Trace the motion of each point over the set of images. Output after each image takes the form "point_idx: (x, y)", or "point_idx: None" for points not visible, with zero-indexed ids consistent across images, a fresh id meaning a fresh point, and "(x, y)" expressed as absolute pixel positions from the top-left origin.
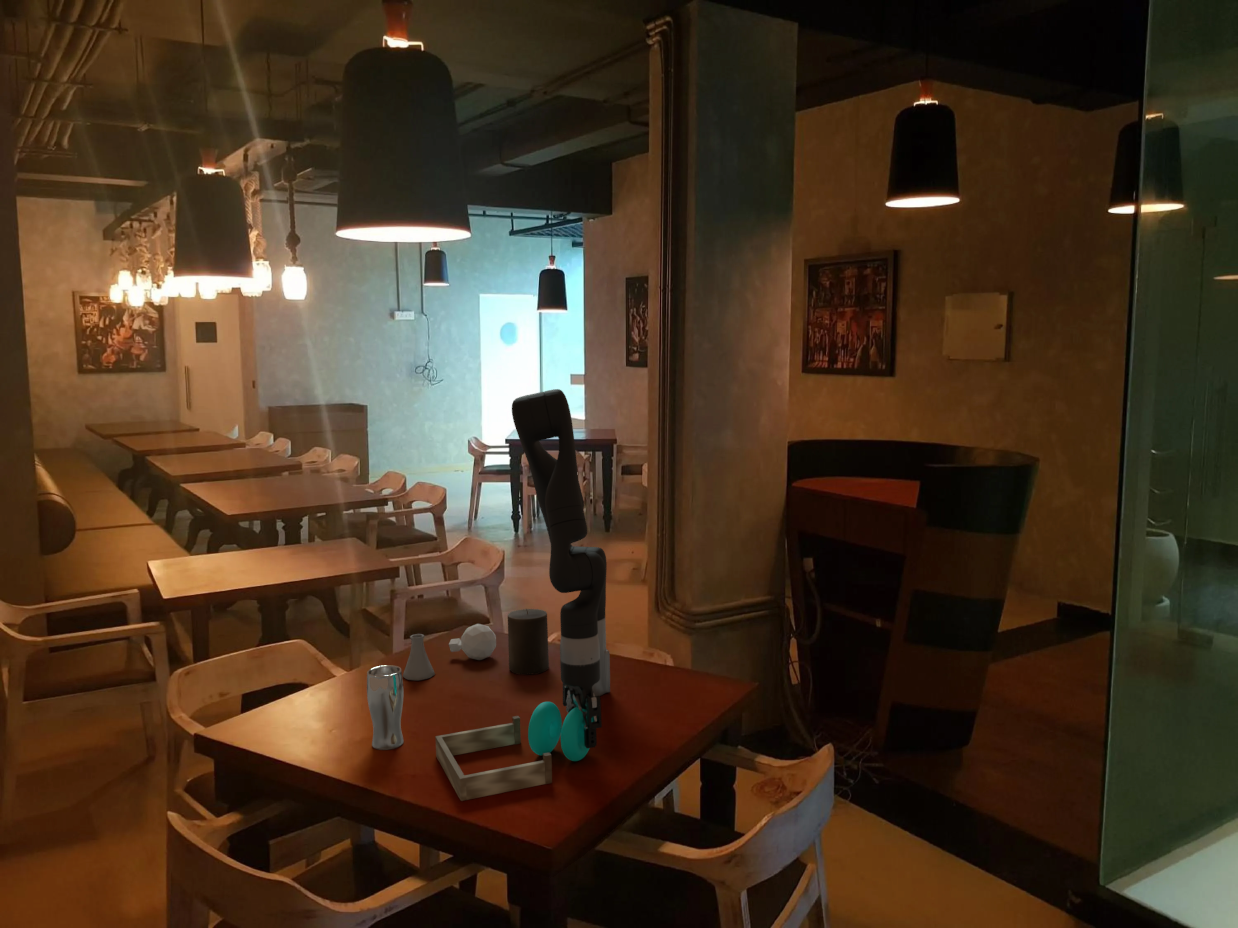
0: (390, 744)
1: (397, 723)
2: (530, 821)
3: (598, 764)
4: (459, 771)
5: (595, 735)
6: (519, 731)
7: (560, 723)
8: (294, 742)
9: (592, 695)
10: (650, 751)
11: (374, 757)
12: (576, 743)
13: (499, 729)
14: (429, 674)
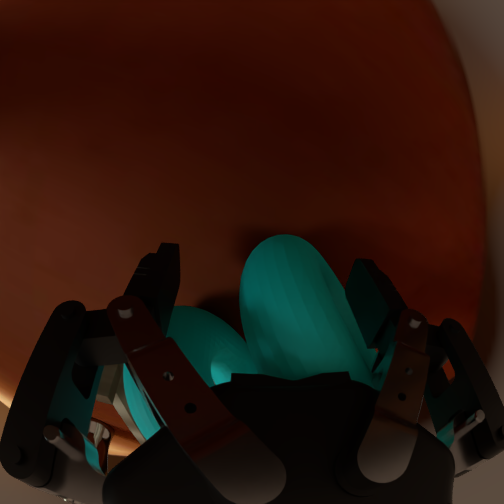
0: (112, 434)
1: (98, 449)
2: None
3: (375, 239)
4: None
5: (400, 297)
6: (118, 366)
7: (201, 359)
8: None
9: (465, 468)
10: (401, 44)
11: (133, 439)
12: (375, 351)
13: (126, 403)
14: None
